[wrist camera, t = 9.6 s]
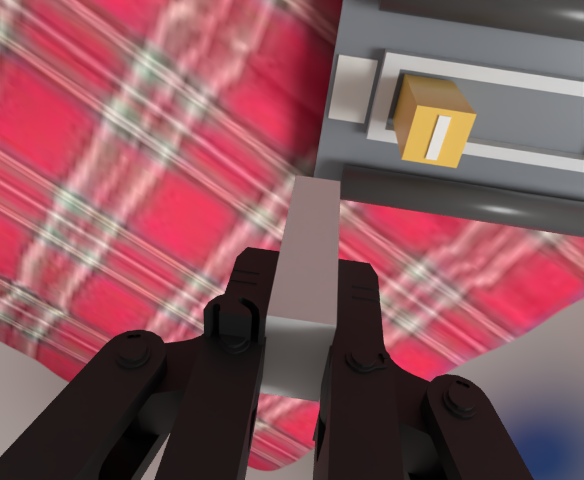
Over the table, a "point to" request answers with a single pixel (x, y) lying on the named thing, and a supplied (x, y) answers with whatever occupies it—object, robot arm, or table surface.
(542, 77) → the panel
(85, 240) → the table surface
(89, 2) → the table surface
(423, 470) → the robot arm
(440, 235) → the table surface
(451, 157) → the lever
